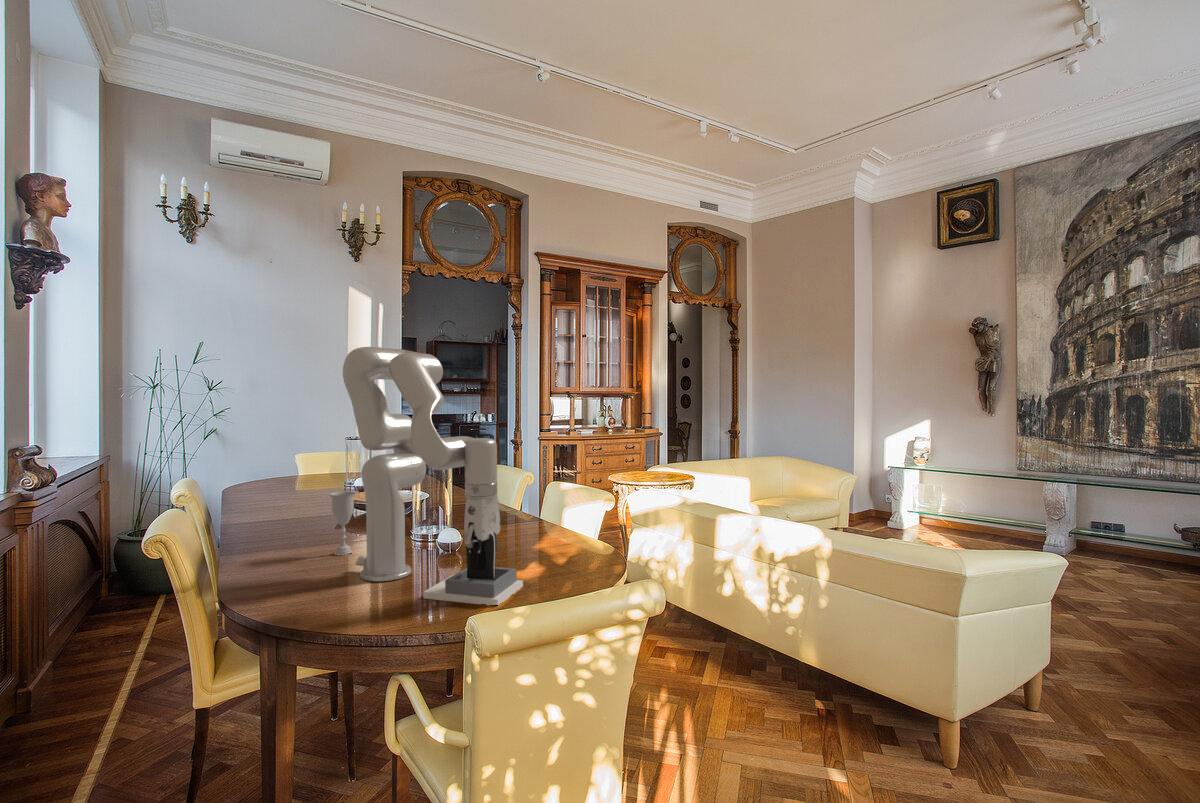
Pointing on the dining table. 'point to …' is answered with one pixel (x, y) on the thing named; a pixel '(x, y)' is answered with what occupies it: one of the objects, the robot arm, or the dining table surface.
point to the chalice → (343, 515)
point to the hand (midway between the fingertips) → (482, 565)
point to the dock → (476, 588)
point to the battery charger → (489, 560)
